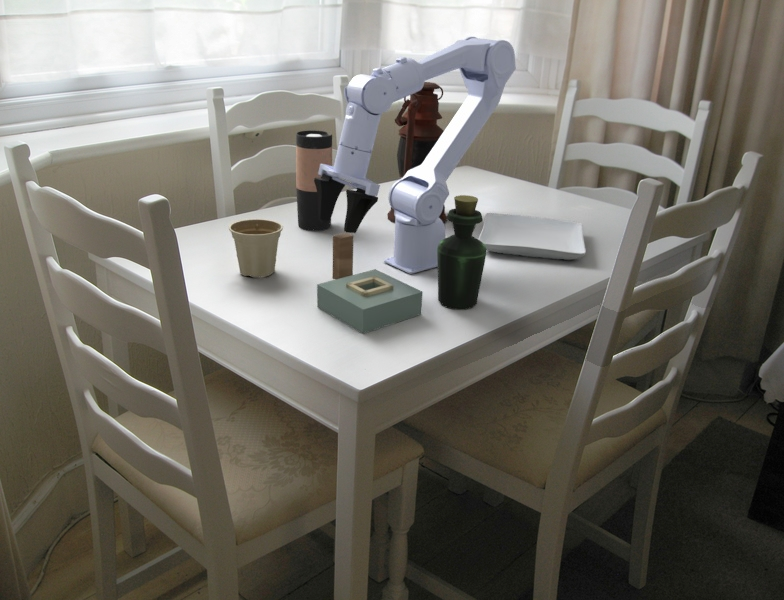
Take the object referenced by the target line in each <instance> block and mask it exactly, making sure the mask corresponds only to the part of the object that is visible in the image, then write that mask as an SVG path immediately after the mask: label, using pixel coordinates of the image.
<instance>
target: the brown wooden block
mask: <svg viewBox="0 0 784 600" xmlns="http://www.w3.org/2000/svg"><path fill="white" fill-rule="evenodd" d="M353 271H354V235H353V234H352V233H347V232H343V233H337V234H334V235H332V279H333V280H336V279H340V278H343V277H347V276H351V275H354V272H353Z"/></svg>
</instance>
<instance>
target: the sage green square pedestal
mask: <svg viewBox="0 0 784 600" xmlns="http://www.w3.org/2000/svg"><path fill="white" fill-rule="evenodd" d="M316 286H317V287H316V290H317V291H316V295H317V296H316V297H317V298H316V300H317V301H316V303H317V304H316V305H317V306H316V307H317V308H318V309H320V310H322V311H324V312H325V313H327V314H328V315H330V316H332V317H334V318H335V319H337V320H338V321H340V322H342V323H344V324H345V325H347V326H349V327H350V328H352V329H354V330H356V331H357V332H359V333H361V334H367V333H369V332H371V331H374V330H378V329H381V328H384V327H387V326H391V325H393V324H397V323H399V322H402V321H405V320H409V319H412V318H415V317H418V316H421V315H422V311H423V310H422V308H423V307H422V306H423V292H424V291H422V290H421V289H418V288H416V287H413V286H412V285H410V284H408V283H405V282H403V281H401V280H399V279H397V278H395V277H393V276H392V275H391V276H390V275H388V274H386V273H384V272H383V271H380V270H378V269H376V268H375V269H371V270H367V271H364V272H359V273H356V274H353V275H351V276H347V277H343V278H340V279H333V280H328V281H325V282H320V283H316Z"/></svg>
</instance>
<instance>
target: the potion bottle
mask: <svg viewBox="0 0 784 600" xmlns="http://www.w3.org/2000/svg"><path fill="white" fill-rule="evenodd" d="M453 201H454V207H455V208H451V209H449V210H448V213H447V214H446V216H447V218H446V219H447V221H448V222H451V223H452V229H453V234H452V235H450V236H448V237H445V239H443V240H442V241H441V242H440V243H439V245H438V248H437V261H438V267H437V298H438V302H439V303H440V304H441V305H442V306H444V307H445V308H448V309H452V310H458V311H459V310H469V309H472V308H473V307H476V305H477V304H478V298H479V294H480V293H479V292H480V288H481V282H482V278H483V272H484V269H485V267H484V266H485V263H486V258H487V257H486V256H487V252H488V250H487V249H486V247H485V245H484V244H483V243H482V242H481V241H480V240H478V237H477V238H476V237H475V236H473V234H474V231H475V227H476V225H478V224H481V223H484V222H483V220H484V219H483V214H482V212H481V211H480V210H477V205H478V202H479V198H478V197H475V196H473V195H467V194H466V195H465V194H463V195H462V194H461V195H456V196H454V199H453Z"/></svg>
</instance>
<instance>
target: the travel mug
mask: <svg viewBox="0 0 784 600" xmlns="http://www.w3.org/2000/svg"><path fill="white" fill-rule="evenodd" d="M295 134H296V135H295V139H296V140H295V146H296V147H295V150H296V151H295V152H296V153H295V154H296V155H295V169H296V172H295V175H296V176H295V177H296V180H295V181H296V183H295V184H296V185H295V186H296V187H295V188H296V204H297V205H296V207H297V208H296V209H297V211H296V212H297V226H298V227H299V228H300V229H301V230H304V231H308V232H309V231H311V232H320V231H325V230H328V229H330V228H331V226H332V225H331V224H332V218H331V219H330V221H327V220H320V219H319V218H318V195H317V189H316V185H315V182H314V178H315V177H318V178H321V177H322V176H321V175H319V174H318V172H319V168H320V164H325V165H330V166H333V133H332V134H329V133H328V132H327V131H324V130H315V129H314V130H312V129H311V130H310V129H309V130H302V131H297V132H296V133H295Z"/></svg>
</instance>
